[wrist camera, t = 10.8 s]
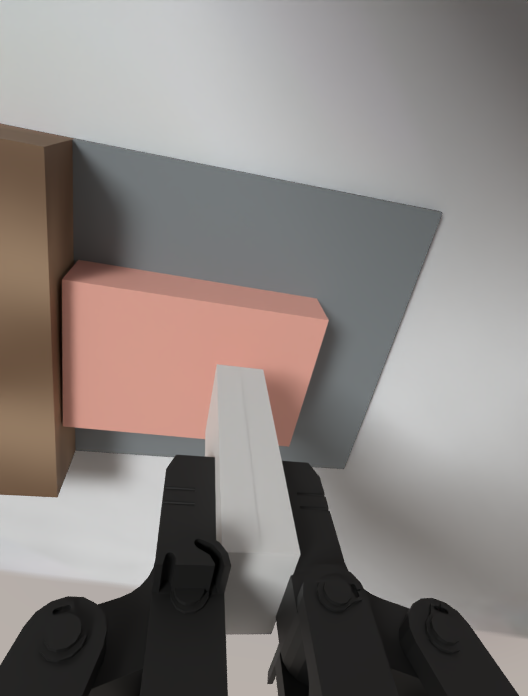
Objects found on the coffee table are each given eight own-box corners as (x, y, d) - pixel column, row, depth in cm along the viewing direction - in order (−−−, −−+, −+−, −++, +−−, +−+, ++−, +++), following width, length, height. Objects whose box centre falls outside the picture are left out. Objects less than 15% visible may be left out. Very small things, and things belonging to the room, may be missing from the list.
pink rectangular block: (76, 395, 18) (62, 426, 16) (78, 259, 15) (62, 279, 14) (282, 416, 20) (289, 446, 18) (316, 298, 17) (328, 320, 15)
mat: (74, 138, 14) (72, 139, 14) (438, 211, 16) (442, 212, 16) (77, 445, 20) (75, 450, 20) (342, 464, 22) (343, 469, 22)
